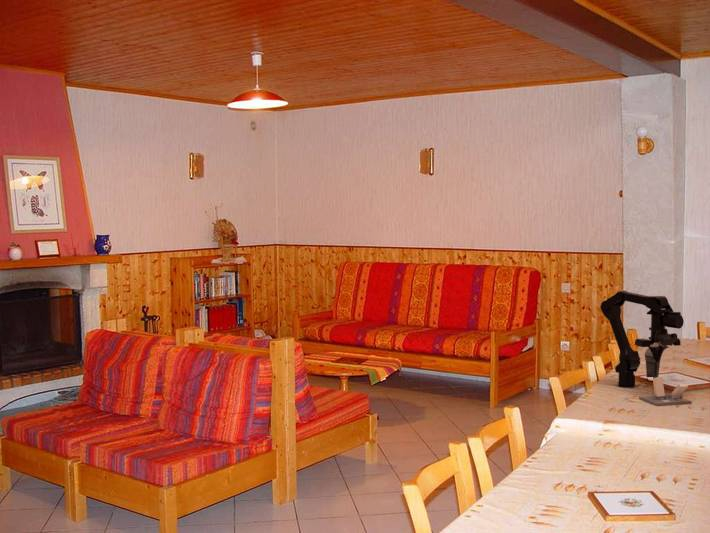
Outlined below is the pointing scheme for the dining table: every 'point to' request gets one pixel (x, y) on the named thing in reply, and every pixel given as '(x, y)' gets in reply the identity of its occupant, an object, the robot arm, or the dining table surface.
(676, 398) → the switch unit
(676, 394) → the marked lever
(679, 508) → the dining table surface
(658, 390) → the unmarked lever
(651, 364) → the beverage cup
